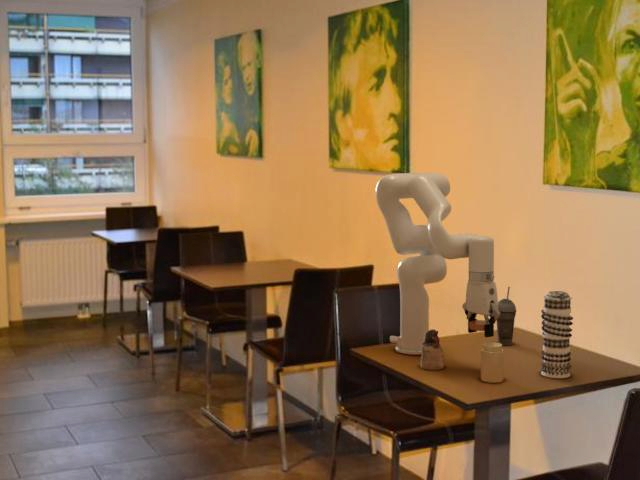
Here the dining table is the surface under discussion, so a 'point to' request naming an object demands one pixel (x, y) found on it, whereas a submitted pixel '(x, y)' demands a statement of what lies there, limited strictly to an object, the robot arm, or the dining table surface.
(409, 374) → the dining table surface
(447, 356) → the dining table surface
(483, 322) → the jar lid
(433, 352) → the figurine
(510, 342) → the beverage cup
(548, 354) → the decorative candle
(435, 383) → the dining table surface
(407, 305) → the robot arm
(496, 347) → the honey jar
